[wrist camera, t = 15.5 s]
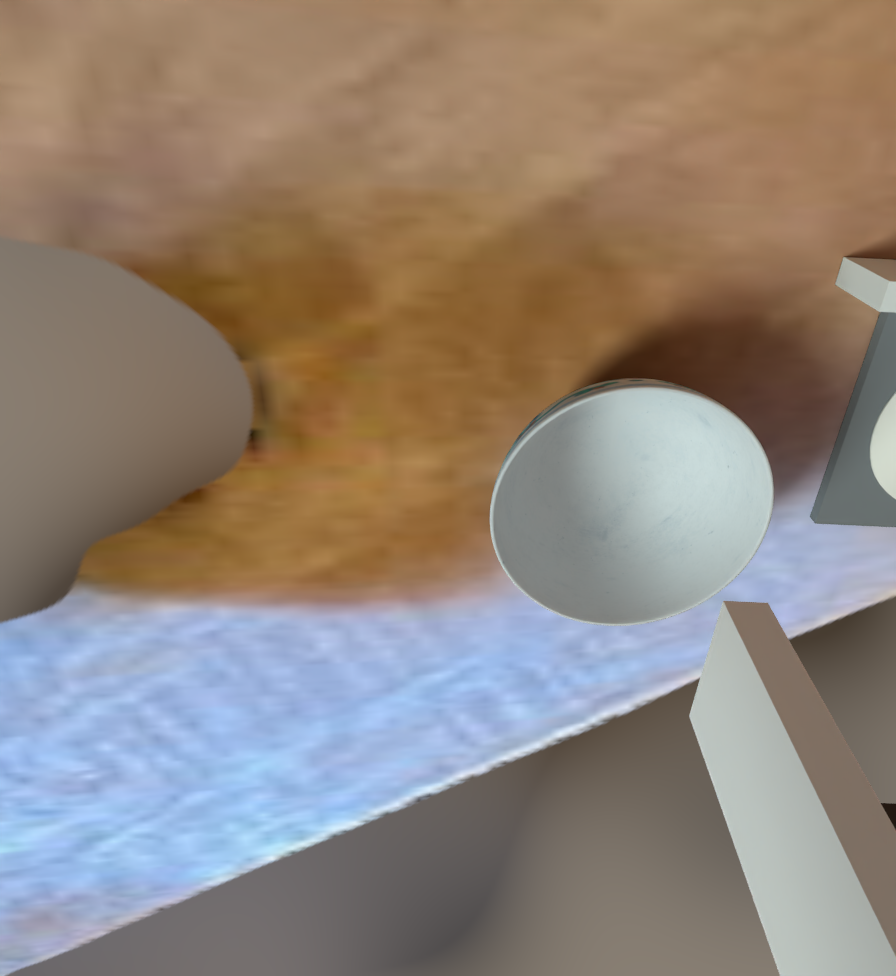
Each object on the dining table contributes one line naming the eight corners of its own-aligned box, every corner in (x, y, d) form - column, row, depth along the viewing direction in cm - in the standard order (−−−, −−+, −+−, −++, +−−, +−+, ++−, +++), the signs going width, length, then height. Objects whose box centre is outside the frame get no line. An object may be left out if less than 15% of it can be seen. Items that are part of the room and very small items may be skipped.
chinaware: (452, 513, 49) (451, 585, 43) (541, 299, 42) (557, 345, 35) (657, 575, 52) (687, 653, 45) (776, 383, 44) (832, 442, 38)
